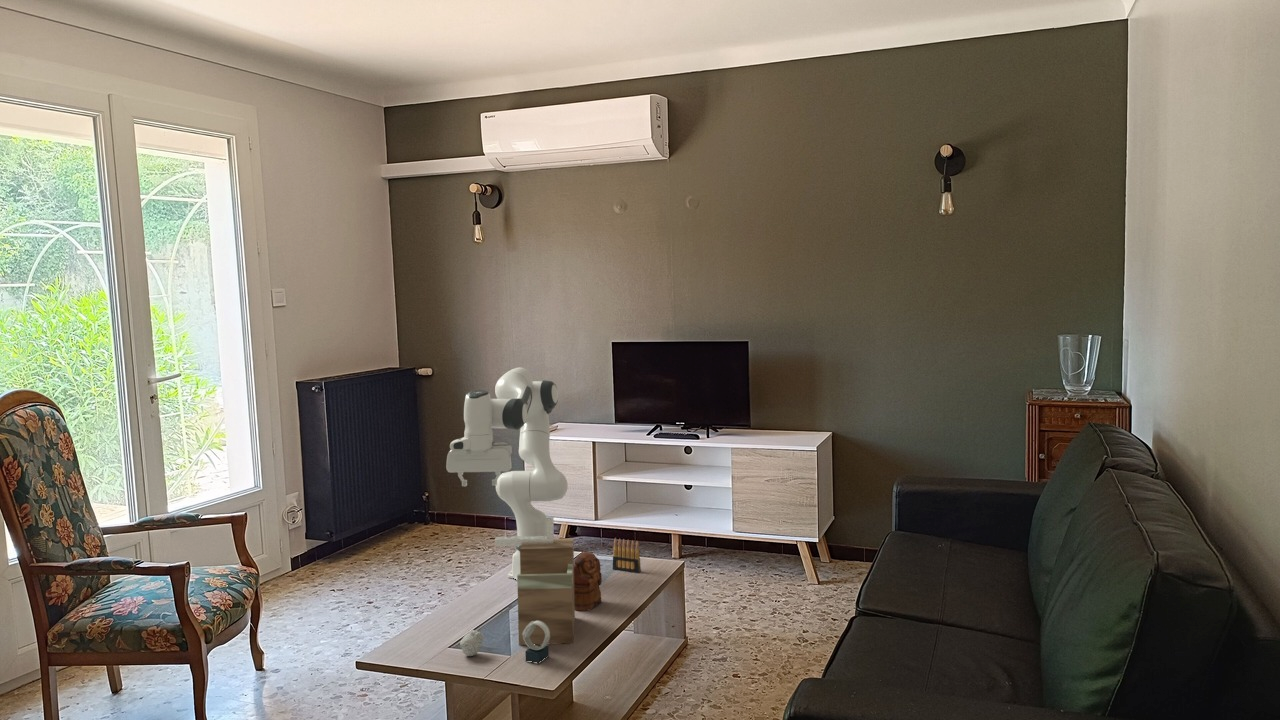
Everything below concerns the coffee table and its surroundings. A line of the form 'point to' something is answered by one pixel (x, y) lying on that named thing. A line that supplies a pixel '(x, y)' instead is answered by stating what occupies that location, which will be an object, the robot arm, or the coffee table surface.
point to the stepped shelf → (547, 591)
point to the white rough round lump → (471, 643)
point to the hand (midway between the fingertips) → (479, 485)
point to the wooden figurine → (587, 581)
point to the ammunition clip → (626, 557)
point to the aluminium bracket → (529, 538)
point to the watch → (537, 650)
